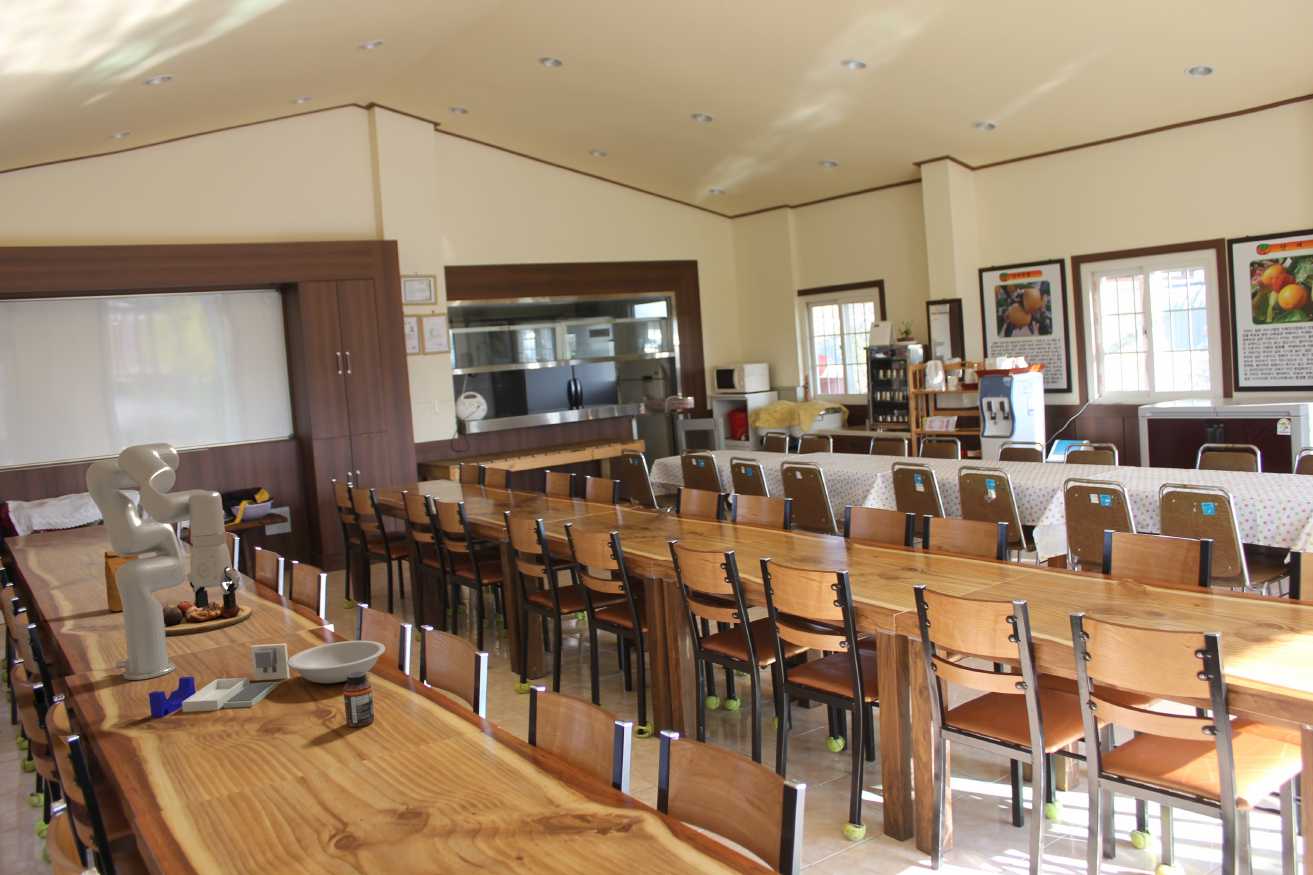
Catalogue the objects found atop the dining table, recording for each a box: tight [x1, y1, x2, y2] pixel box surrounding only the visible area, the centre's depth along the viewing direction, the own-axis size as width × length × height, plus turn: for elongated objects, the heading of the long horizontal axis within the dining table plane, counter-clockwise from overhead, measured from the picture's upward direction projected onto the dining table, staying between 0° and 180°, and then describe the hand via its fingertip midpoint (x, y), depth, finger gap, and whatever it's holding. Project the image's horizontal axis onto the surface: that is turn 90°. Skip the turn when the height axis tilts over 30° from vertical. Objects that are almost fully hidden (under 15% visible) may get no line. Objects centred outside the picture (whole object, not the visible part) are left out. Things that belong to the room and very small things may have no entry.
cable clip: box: [148, 676, 196, 719], centre depth 230 cm, size 12×4×6 cm, turn 169°
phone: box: [222, 681, 278, 709], centre depth 235 cm, size 7×14×1 cm, turn 178°
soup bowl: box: [287, 640, 386, 684], centre depth 245 cm, size 24×24×7 cm
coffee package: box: [103, 550, 140, 612], centre depth 343 cm, size 10×12×22 cm
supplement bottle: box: [343, 671, 375, 728], centre depth 211 cm, size 6×6×11 cm
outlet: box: [250, 643, 291, 681], centre depth 247 cm, size 9×4×9 cm, turn 88°
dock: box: [181, 677, 251, 713], centre depth 235 cm, size 9×17×2 cm, turn 178°
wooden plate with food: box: [163, 599, 253, 636], centre depth 316 cm, size 32×32×8 cm
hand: (216, 607), depth 239 cm, fingers open, 9 cm apart
